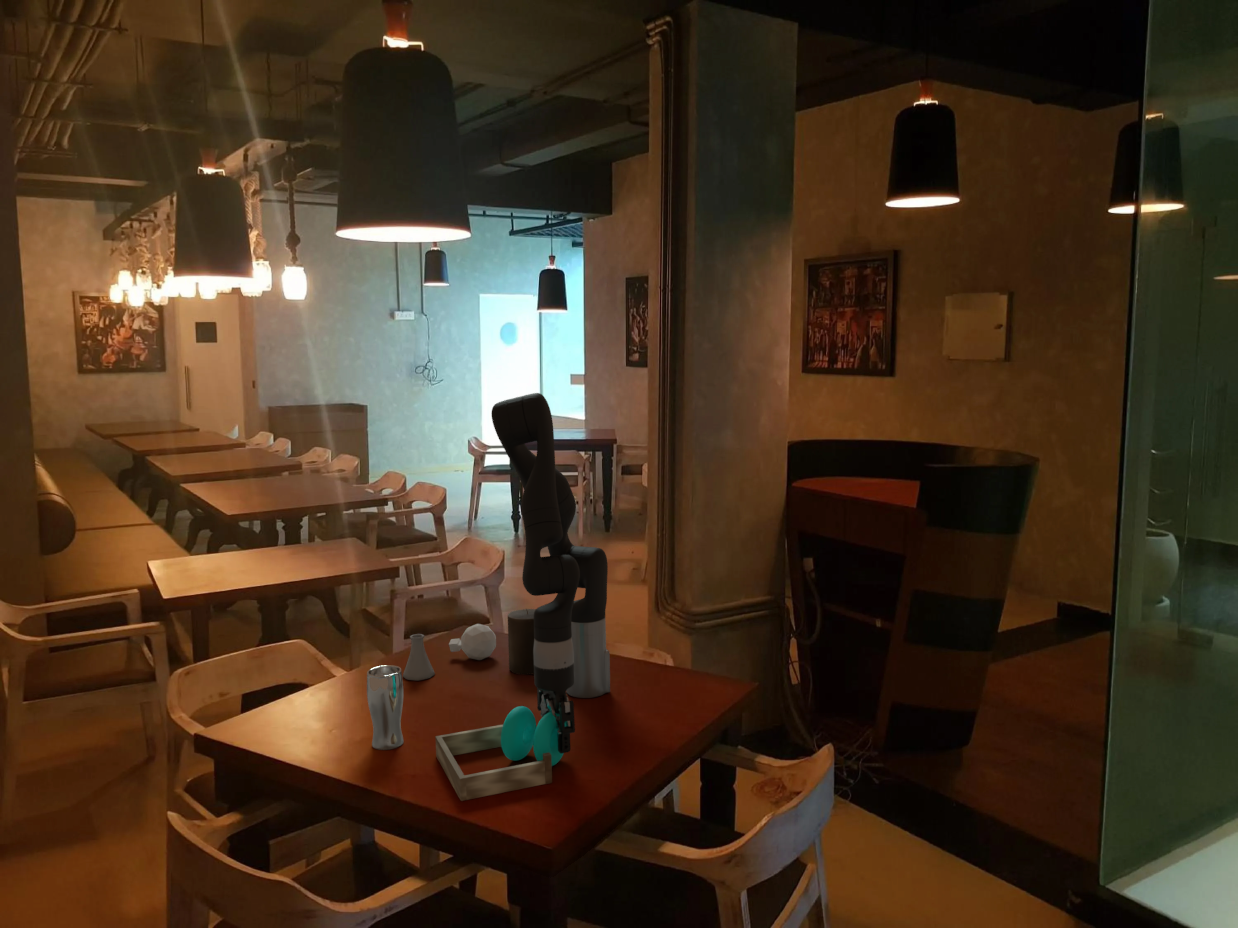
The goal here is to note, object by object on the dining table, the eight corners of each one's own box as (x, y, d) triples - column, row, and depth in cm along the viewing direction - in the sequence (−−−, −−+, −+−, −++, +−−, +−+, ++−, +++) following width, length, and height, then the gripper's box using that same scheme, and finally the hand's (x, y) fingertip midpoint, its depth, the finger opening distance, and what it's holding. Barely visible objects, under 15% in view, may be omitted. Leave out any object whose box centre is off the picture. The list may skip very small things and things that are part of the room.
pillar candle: (536, 677, 224) (534, 615, 222) (501, 671, 228) (499, 611, 226) (556, 664, 232) (554, 605, 230) (522, 659, 236) (520, 601, 235)
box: (519, 740, 187) (518, 715, 186) (552, 782, 168) (551, 754, 168) (436, 755, 180) (435, 729, 180) (461, 801, 162) (459, 772, 161)
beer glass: (372, 753, 182) (368, 678, 180) (367, 740, 188) (363, 667, 187) (408, 747, 185) (405, 673, 183) (402, 734, 191) (398, 662, 189)
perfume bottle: (503, 644, 243) (459, 649, 245) (495, 615, 239) (450, 619, 241) (496, 665, 235) (450, 669, 237) (487, 635, 231) (441, 639, 233)
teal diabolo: (525, 746, 184) (524, 697, 183) (571, 755, 180) (570, 704, 178) (498, 767, 175) (496, 715, 174) (546, 776, 171) (544, 723, 169)
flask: (420, 669, 231) (418, 629, 230) (440, 674, 227) (438, 634, 225) (397, 677, 225) (395, 637, 224) (417, 683, 221) (415, 642, 220)
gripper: (586, 668, 172) (588, 754, 174) (559, 647, 185) (562, 726, 187) (547, 675, 169) (550, 761, 171) (523, 653, 182) (525, 733, 184)
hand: (556, 743), depth 179 cm, fingers open, 8 cm apart
